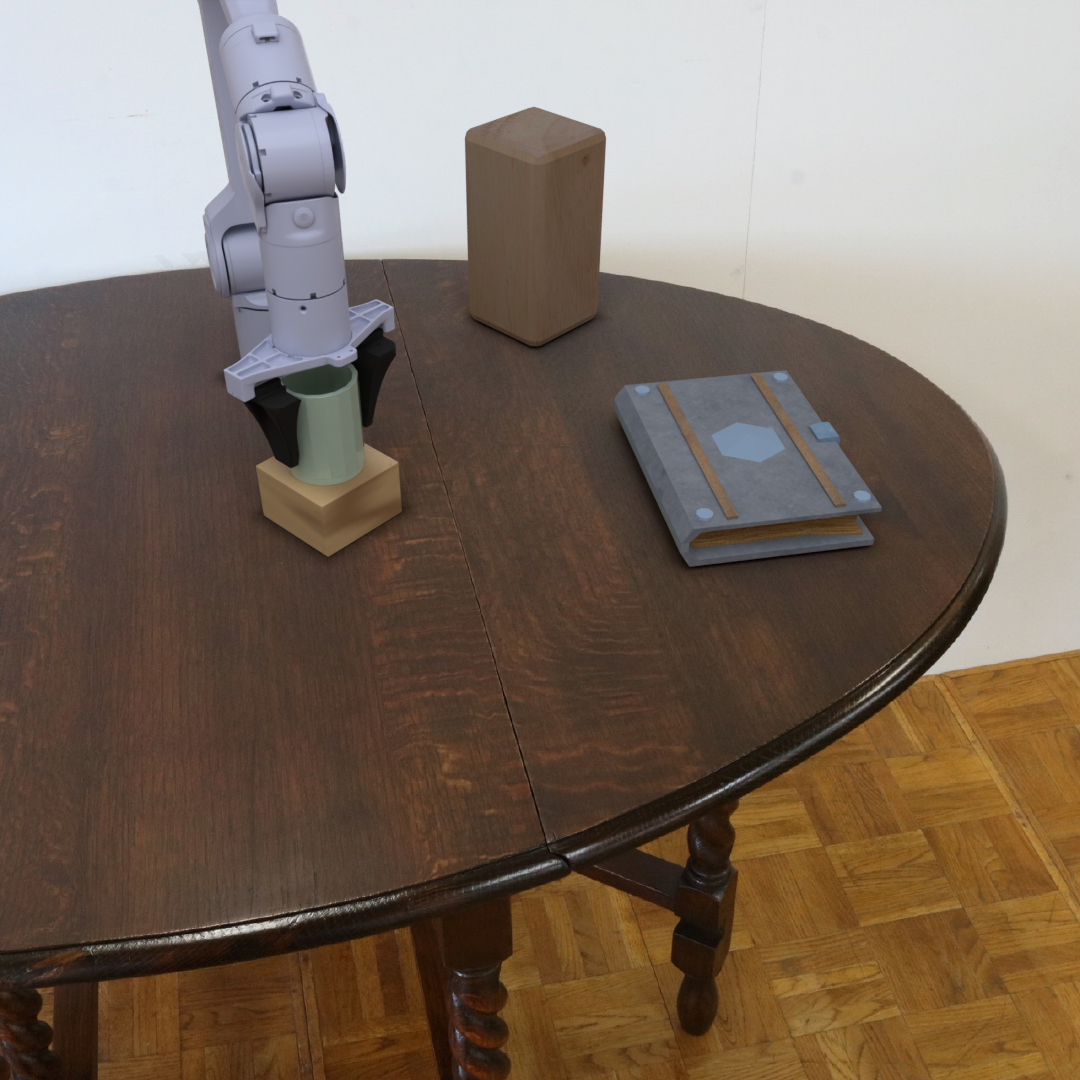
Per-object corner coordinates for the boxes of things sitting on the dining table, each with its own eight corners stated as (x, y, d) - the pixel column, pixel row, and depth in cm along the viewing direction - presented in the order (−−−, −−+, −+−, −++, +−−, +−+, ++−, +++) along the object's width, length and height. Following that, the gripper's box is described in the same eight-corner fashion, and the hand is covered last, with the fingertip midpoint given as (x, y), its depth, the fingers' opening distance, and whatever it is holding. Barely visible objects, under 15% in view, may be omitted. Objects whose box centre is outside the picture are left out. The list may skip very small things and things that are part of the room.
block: (337, 473, 101) (332, 424, 98) (402, 511, 97) (398, 461, 94) (263, 515, 97) (255, 465, 94) (328, 557, 93) (321, 506, 90)
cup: (331, 433, 97) (321, 347, 92) (381, 462, 94) (373, 375, 89) (273, 465, 94) (259, 377, 89) (323, 495, 91) (312, 406, 86)
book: (612, 425, 108) (615, 377, 105) (783, 408, 111) (791, 361, 108) (678, 572, 92) (683, 521, 89) (876, 548, 95) (889, 498, 92)
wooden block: (601, 318, 124) (611, 127, 111) (535, 353, 118) (538, 155, 105) (531, 287, 129) (533, 101, 116) (465, 319, 123) (460, 127, 111)
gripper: (259, 337, 78) (284, 503, 86) (418, 265, 86) (427, 422, 95) (194, 303, 81) (224, 465, 90) (353, 237, 90) (367, 390, 98)
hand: (324, 441), depth 93 cm, fingers open, 7 cm apart
